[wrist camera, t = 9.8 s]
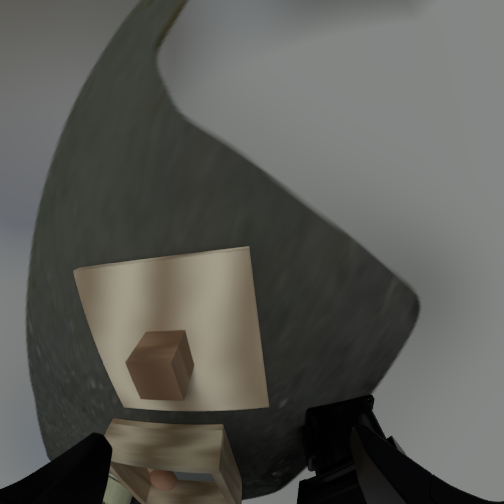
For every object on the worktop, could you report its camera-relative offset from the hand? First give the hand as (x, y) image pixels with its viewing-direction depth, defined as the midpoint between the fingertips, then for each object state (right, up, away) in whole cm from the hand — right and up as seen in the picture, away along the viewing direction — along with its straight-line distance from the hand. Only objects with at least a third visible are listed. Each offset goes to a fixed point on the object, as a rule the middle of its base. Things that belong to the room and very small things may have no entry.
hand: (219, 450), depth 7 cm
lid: (-5, 0, +13) cm, 13 cm away
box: (-7, -16, +16) cm, 23 cm away
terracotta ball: (-9, -19, +16) cm, 26 cm away
